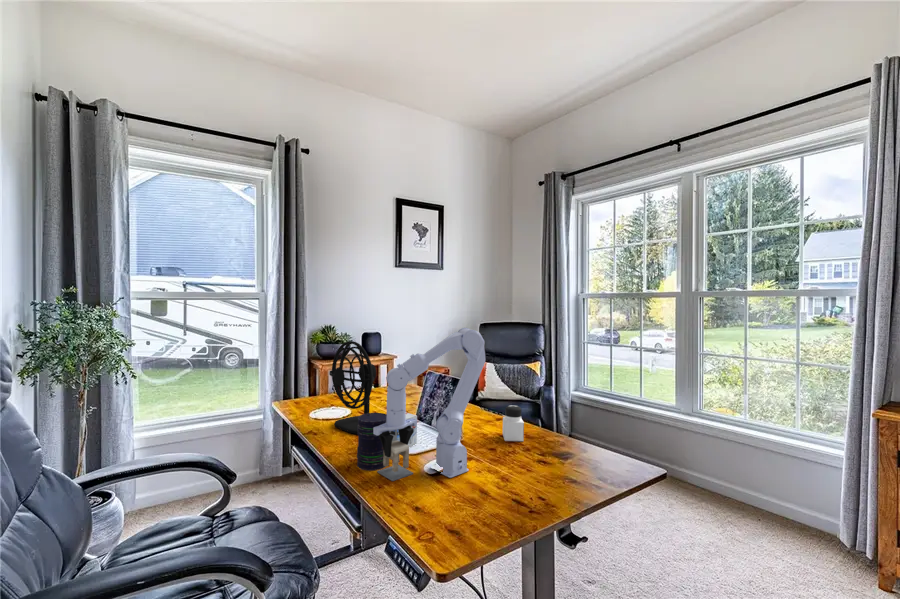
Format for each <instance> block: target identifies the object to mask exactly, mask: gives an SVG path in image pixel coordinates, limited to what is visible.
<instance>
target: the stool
mask: <svg viewBox="0 0 900 599" xmlns="http://www.w3.org/2000/svg"><path fill="white" fill-rule="evenodd" d="M400 456H402V467H403V468H405V469H409V465H410V464H409V463H410V462H409V460H410V458H409V457H410V448H409V446H408V445H406V444H404V443H402V442H400V441H398V440H397V441H393V442H392V445H391V456H390V457H386V456H385V454H384V457H383V465H384V466H385V467H384V468H387V467H390V466H389V465H390V460H392V463H391V464H392V471H394V472H396V471H398V465H399V463H400Z"/></svg>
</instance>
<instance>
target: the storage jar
mask: <svg viewBox="0 0 900 599" xmlns="http://www.w3.org/2000/svg"><path fill="white" fill-rule="evenodd" d="M358 416H359V417H358V426H357V430H358V432H357V436H358V437H357V438H358V439H357V440H358V444H357V449H356V460H357V463H356V465H357V468H358V467H359V469H360V470H363V471H379V470H382V469H385V468H386V467H385V466H384V465H383V457H384V449H383V446H382V443H381V440H380V438H379V436H377V435H375V434H373V428H374V427H377V426H379V425H382V424H384V423H386V418H387V413H381V412H369V413H366V414H364V413H363V414H360V415H358Z"/></svg>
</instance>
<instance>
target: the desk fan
mask: <svg viewBox="0 0 900 599" xmlns="http://www.w3.org/2000/svg"><path fill="white" fill-rule="evenodd" d="M350 345H354V346H350ZM349 346H350V347H349ZM357 350H358V351H359V353H358V352H357ZM349 352H351V353H353V354H354V357H352V359H349V358H348V357H346V356H347V354H348V353H349ZM340 354H341V356H339V355H340ZM356 358H357V361H358V363H359V368H358V371H355V368H354V366H353V364H354V361H355V359H356ZM345 360H346V361H347V362H348V365H349V370H347V369H344V361H345ZM364 360H365V361H366V363H365V361H364ZM339 361H340V362H339ZM338 362H339V367H337V363H338ZM346 373H347V374H349V377H345V374H346ZM355 374H356V375H358V377H359V379H358V378H356V375H355ZM329 376H331V381H332V385H333V389H334V391H335V393H336V395H337V397H338V399H339V400H340V402H341V403H342V404H343V405H344V406H345V407H346V408H348V409H351V410H356V409H360V408H362V407H363V414H366V413H370V401H371V399H370V398H371V397H370V396H371V394H372V389H373V385H374V381H375V379H376V377H377V369H376V366H375V365H374V364H373V363H372V362H371V359H370V357H369V355H368V353H367V351H366V348H364V347H363V346H362V345H361V344H360V343H359V342H356V341H349V340H348V341H346V342H343V343H342V344H341V345H340V346H339V347H338V349H337V351H336V353H335V355H334V357H333V360H332V365H331V370H329ZM345 381H347V382H348V381H349V382H350V383H351V388H350V389H349V391H348V390H347V387H346V385H345ZM355 382H356V383H361V385H360V389H358V388H357V386H356V385H355V384H356V383H355ZM342 389H343V391H342ZM353 390H355V391H356V392H358V395H357V397H356V398H354V397H352V396H351V395H350V394H352V392H353ZM343 392H344V393H343ZM362 395H363V398H362ZM344 396H345V397H347V398H348V399H349V400H351V401H348V400H346V399H344ZM358 403H360V404H359V405H358ZM351 404H352V405H351ZM359 416H360V415H355V416H349V417H344V418H342V419H337V420H335V422H334V427H335V428H338V429H340V430H342V431H344V432H346V433H350V434H355V435H356V434H357V432H358V430H357V426H358V417H359ZM357 435H358V434H357Z"/></svg>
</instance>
